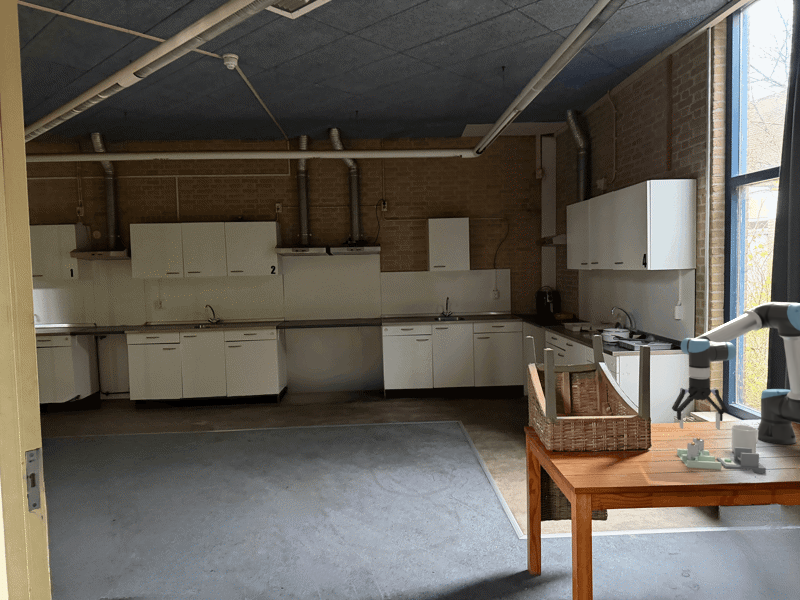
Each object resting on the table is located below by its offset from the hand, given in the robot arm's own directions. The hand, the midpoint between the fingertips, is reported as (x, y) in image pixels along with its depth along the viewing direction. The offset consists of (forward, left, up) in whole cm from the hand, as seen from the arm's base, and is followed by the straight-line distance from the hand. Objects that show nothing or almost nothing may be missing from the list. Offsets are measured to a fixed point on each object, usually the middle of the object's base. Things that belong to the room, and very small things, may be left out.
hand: (699, 428), depth 222 cm
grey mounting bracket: (-14, +5, -14) cm, 20 cm away
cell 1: (+4, +7, -13) cm, 15 cm away
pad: (-16, +5, -11) cm, 20 cm away
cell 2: (0, 0, -13) cm, 13 cm away
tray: (+1, +4, -14) cm, 14 cm away
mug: (-23, -14, -14) cm, 30 cm away
